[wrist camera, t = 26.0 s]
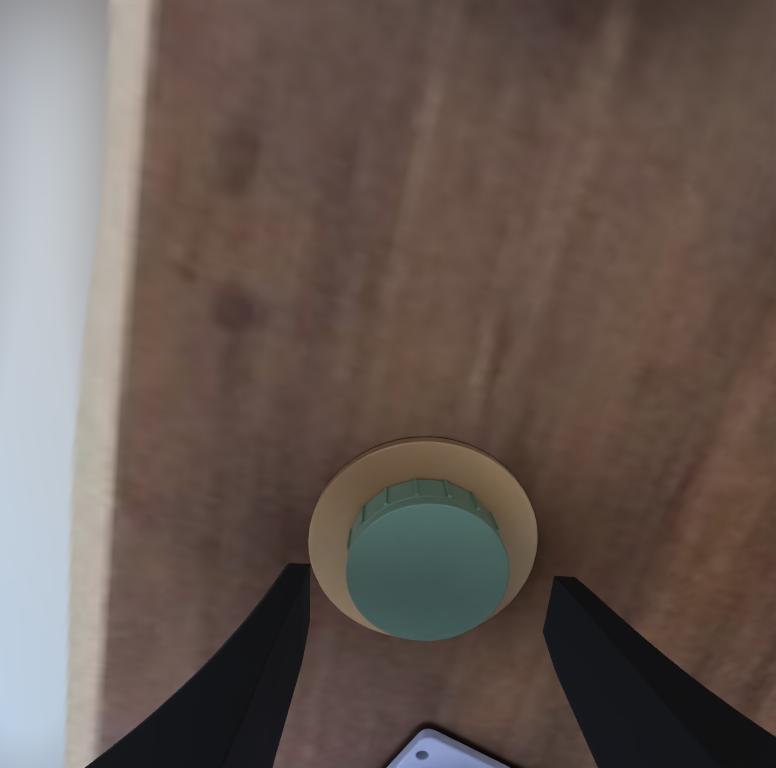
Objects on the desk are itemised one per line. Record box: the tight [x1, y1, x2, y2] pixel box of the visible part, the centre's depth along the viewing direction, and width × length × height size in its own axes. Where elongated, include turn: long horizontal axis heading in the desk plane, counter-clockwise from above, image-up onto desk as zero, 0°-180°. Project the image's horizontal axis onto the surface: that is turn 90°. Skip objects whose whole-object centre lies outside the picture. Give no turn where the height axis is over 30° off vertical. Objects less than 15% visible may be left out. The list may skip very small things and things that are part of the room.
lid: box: [345, 478, 510, 641], centre depth 13 cm, size 5×5×2 cm
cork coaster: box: [308, 437, 538, 636], centre depth 14 cm, size 8×8×1 cm
